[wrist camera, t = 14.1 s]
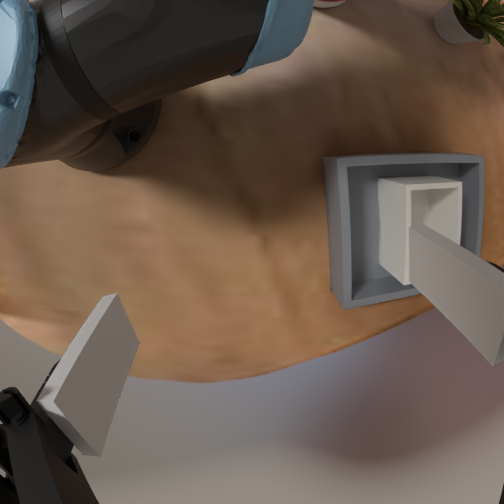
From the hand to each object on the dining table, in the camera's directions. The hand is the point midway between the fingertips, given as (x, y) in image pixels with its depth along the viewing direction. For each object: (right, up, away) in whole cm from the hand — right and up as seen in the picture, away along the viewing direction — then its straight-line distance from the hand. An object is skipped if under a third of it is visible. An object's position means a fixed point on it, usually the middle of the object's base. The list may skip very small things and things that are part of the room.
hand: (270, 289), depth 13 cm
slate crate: (+19, +6, +24) cm, 31 cm away
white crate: (+19, +6, +23) cm, 30 cm away
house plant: (+29, +34, +16) cm, 47 cm away
